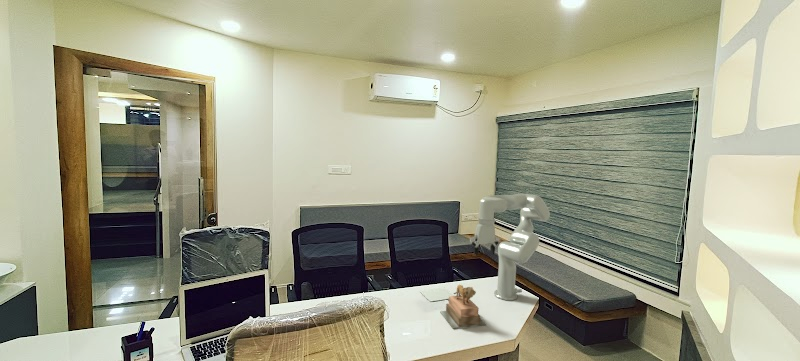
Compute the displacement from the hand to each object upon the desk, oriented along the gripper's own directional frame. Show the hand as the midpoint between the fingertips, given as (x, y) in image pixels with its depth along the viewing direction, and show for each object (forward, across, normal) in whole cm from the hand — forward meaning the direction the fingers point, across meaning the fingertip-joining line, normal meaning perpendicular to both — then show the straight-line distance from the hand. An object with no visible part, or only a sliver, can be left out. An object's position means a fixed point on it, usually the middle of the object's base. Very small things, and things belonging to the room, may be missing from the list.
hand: (484, 253), depth 172 cm
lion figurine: (+20, +16, +11) cm, 28 cm away
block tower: (+28, +16, +12) cm, 35 cm away
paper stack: (+29, +22, -11) cm, 38 cm away
